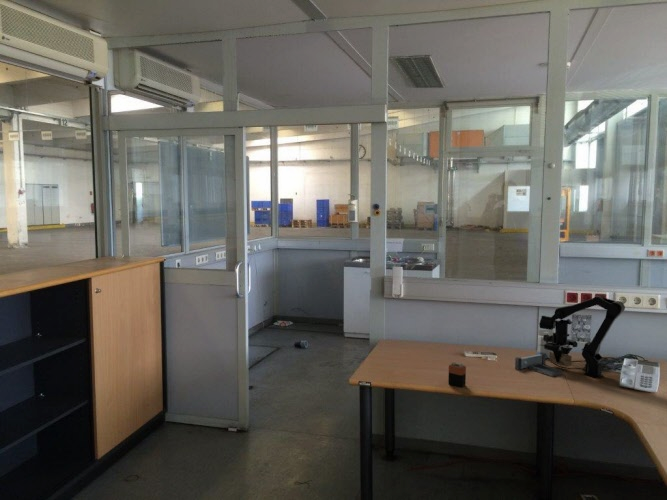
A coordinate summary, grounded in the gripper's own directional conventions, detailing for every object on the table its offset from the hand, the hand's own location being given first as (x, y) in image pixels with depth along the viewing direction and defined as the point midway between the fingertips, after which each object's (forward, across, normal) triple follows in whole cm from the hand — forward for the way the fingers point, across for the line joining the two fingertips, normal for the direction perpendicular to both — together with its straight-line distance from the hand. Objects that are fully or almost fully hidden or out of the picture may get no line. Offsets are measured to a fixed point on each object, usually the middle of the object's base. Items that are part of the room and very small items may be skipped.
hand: (560, 361), depth 258 cm
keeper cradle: (+4, +11, 0) cm, 12 cm away
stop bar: (+1, 0, 0) cm, 1 cm away
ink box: (+4, -11, -17) cm, 21 cm away
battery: (+4, +64, -6) cm, 64 cm away
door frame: (+4, +11, -9) cm, 15 cm away
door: (+3, +11, -9) cm, 14 cm away
